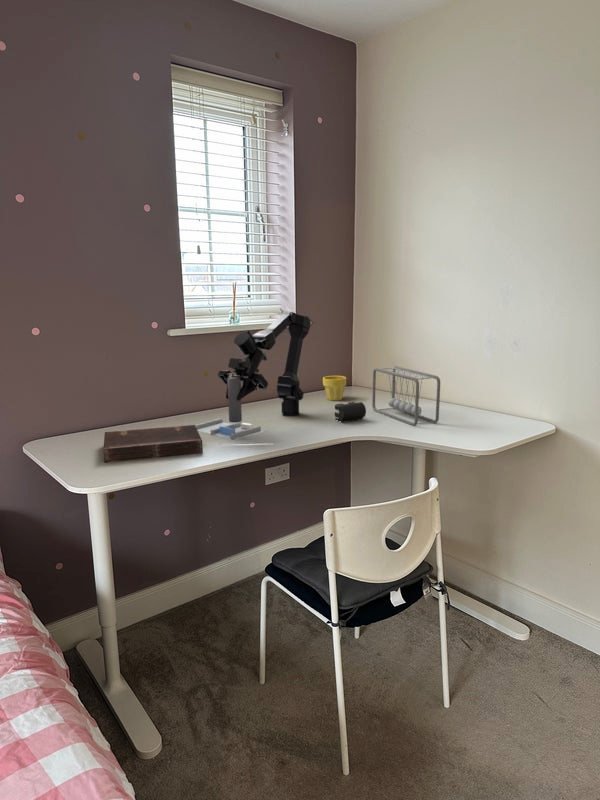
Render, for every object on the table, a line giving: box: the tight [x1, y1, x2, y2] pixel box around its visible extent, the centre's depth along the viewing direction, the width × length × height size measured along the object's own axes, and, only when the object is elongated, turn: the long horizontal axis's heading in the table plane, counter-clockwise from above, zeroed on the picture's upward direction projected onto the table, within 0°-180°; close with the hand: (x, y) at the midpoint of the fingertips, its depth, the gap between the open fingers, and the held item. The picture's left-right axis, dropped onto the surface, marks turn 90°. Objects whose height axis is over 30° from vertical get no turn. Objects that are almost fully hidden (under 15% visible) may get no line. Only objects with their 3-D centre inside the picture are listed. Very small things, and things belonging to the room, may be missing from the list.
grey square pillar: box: [227, 377, 243, 424], centre depth 197 cm, size 4×4×15 cm
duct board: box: [194, 417, 265, 441], centre depth 202 cm, size 24×14×3 cm, turn 52°
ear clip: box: [241, 422, 254, 429], centre depth 203 cm, size 4×2×1 cm, turn 52°
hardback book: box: [103, 424, 204, 464], centre depth 181 cm, size 29×19×5 cm, turn 107°
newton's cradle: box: [371, 366, 441, 427], centre depth 220 cm, size 30×10×18 cm, turn 25°
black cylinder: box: [334, 401, 367, 423], centre depth 216 cm, size 10×7×7 cm
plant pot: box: [322, 375, 347, 401], centre depth 254 cm, size 10×10×10 cm
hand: (232, 399), depth 196 cm, fingers closed on grey square pillar, 4 cm apart
